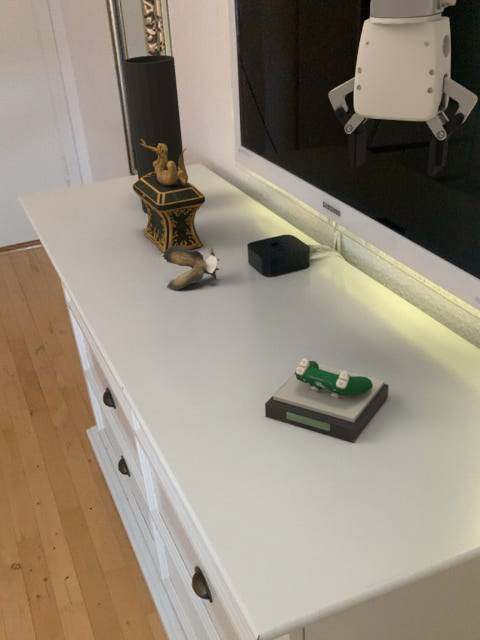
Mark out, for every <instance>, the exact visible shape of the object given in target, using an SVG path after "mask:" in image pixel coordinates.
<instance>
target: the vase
mask: <svg viewBox="0 0 480 640" xmlns="http://www.w3.org/2000/svg"><path fill="white" fill-rule="evenodd" d="M175 64H176V63H175V57H174V56H172V55H166V54H165V55H164V54H156V55H153V54H152V55H141V56H134V57H129V58H126V59H124V60H123V61H122V65H123V72H124V80H125V81H124V82H125V88H126V95H127V103H128V111H129V118H130V126H131V134H132V140H133V149H134V155H135V163H136V170H137V178H138V179H137V180H139V179H140V178H141V177H143V176H145V175H147V174H149V173H150V172H155V167H154V166H153V162H154V161H156V160H157V159H158V154H157V153H156V152H155V151H153V150H151V149H149V148H146V147H145V146H143V145H141V144H143V142H142V140H141V139H143V140H144V141H145V143H146V145H147V146H151V147H155V148H157V146H158V144H159V143H162V144H166V146H167V148H168V153H167V159H168V162H169V161H173V162H174V163H175V165H176V168H177V171H178V167H179V165H178V162H179V159H180V155H181V154H182V152H183V150H184V149H183V147H184V146H183V135H182V128H181V126H182V125H181V117H180V116H181V115H180V105H179V95H178V86H177V75H176V65H175ZM140 143H141V144H140ZM182 159H183V162H184V163H185V160H184V159H185V158H184V154H183V155H182ZM166 170H167V171H168V167H167V169H166ZM151 175H154V174H151ZM183 179H184V178H183ZM140 201H141V208H142V211H143V212H144V213H146V214H148V211H147V208H146V205H145V203H144V202H143V200H142V199H141V198H140Z"/></svg>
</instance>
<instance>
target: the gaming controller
mask: <svg viewBox="0 0 480 640" xmlns="http://www.w3.org/2000/svg"><path fill="white" fill-rule="evenodd" d="M318 364H319V363H318V362H317V361H315V360H309V359H308V358H305V357H304V358H303V359H302V360H301V361H300V362H299V363H298V365H297V366H296V368H295V371H294V374H295V375H296V377H297V380H300V381H301V380H302V382H304V383H310V385H311V386H313V387H311V389H312V390H314V391H319V390H318V389H322V388H325V389H328V390H330V391H331V392H332V393H333V394H331V396H333V397H336V398H339V396H342V395H344V396H356V395H361V394H363V393H366V392H367V391H369V390H370V389H371V388H372V387H373V385H372V382H371V380H370V379H369V378H367V377H363V376H349V374H348V372H349V371H348V370H344V371H342V372H341V374H338V375H337V374H334V373H330V372H327V371H324V370H321V369H319V366H318ZM347 371H348V372H347ZM338 395H339V396H338Z"/></svg>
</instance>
